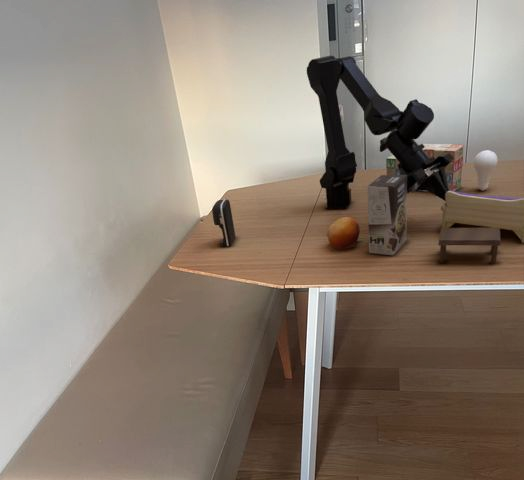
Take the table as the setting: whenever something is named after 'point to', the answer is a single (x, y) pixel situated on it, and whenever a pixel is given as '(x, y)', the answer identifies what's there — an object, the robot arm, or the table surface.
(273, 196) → the table surface
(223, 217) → the battery charger
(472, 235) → the coffee table
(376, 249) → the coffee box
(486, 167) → the lightbulb
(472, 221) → the toy sofa
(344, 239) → the fruit
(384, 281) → the table surface
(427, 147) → the stack of blocks
